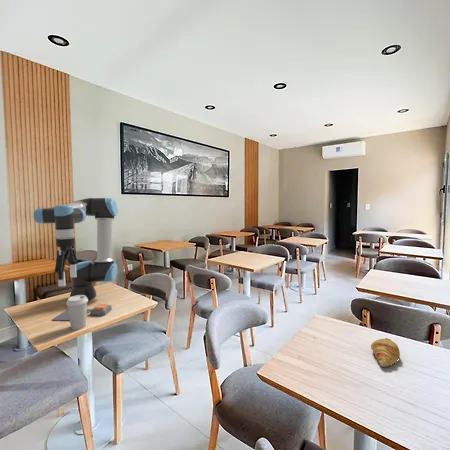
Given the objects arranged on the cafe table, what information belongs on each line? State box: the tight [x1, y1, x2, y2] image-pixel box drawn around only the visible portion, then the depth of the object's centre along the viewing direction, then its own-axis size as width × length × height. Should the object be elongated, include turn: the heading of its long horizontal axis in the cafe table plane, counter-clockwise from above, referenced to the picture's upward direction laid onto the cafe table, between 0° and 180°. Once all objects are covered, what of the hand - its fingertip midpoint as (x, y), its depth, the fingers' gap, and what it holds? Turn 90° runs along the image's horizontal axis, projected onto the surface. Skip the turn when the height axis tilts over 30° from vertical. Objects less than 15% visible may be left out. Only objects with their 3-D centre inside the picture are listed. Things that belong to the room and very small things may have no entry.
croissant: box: [370, 337, 401, 368], centre depth 108 cm, size 21×10×8 cm, turn 146°
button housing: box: [89, 304, 113, 317], centre depth 149 cm, size 8×8×3 cm
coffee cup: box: [65, 295, 89, 331], centre depth 132 cm, size 10×10×15 cm
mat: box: [51, 308, 93, 322], centre depth 145 cm, size 14×14×1 cm
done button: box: [93, 303, 109, 310], centre depth 149 cm, size 6×6×2 cm
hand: (68, 281), depth 127 cm, fingers open, 13 cm apart
